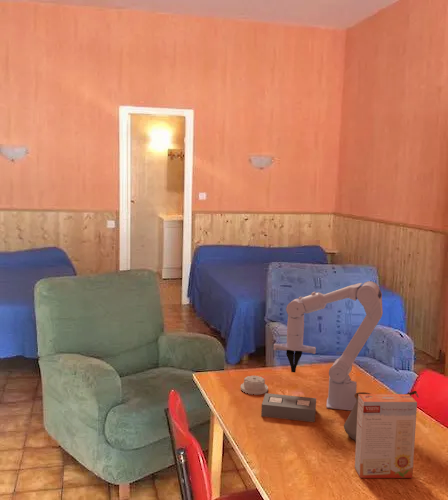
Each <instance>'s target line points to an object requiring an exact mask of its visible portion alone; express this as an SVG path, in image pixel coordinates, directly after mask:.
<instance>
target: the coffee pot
mask: <svg viewBox="0 0 448 500" xmlns="http://www.w3.org/2000/svg"><path fill="white" fill-rule="evenodd" d="M358 394H371V393H370V392H364V391H363V392H361V391H359V392H356V394H355V395H354V396H355V398H356V403H355V405H354V407H353V409H352V411H351V410H350V412H349V415H347V418H346V420H345V421H344V424H343V429H344V431H345V433H346V434H347V435H348V436H349V438H350V439H352V440H353V441H355V442H356V431H357V411H358ZM406 394H409V395H410V396H411V397H412V395H415V396H416V397H417V398H419V394H418V393H417V390H413V391H411V392H409V391H408V392H407V393H406Z"/></svg>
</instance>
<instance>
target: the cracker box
mask: <svg viewBox="0 0 448 500" xmlns="http://www.w3.org/2000/svg"><path fill="white" fill-rule="evenodd" d="M417 410H418V402H417V401H416V399H415V398H414V397H413V396H412V395H411V396H410V395H409V394H407V393H401V394H399V393H398V394H397V393H396V394H395V393H391V394H390V393H389V394H388V393H386V394H385V393H384V394H383V393H379V394H378V393H377V394H376V393H375V394H374V393H370V394H358V411H357V431H356V441H355V453H354V456H355V457H354V469H355V471H356V473H357V475H358V477H359V478H360V479H413V472H414V471H413V470H414V457H415V444H416V443H415V441H416V428H417V427H416V425H417V412H418V411H417Z"/></svg>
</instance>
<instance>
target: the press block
mask: <svg viewBox="0 0 448 500" xmlns="http://www.w3.org/2000/svg"><path fill="white" fill-rule="evenodd" d="M270 397H275V398H282V403H275V402H269V400H270ZM297 400H304V401H310V406H303V405H297ZM316 406H317V398H316V397H310V396H309V397H307V396H298V395H296V396H295V395H288V394H287V395H286V394H278V393H270V392H269V393H268V392H266V393H264V396H263V400H262V403H261V410H260V411H261V412H260V413H261V414H260V415H261V417H263V418H274V419H275V418H276V419H283V420H284V419H285V420H290V421H291V420H294V421H300V422H301V421H302V422H310V423H315V421H316V411H317V409H316V408H317V407H316Z"/></svg>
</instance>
